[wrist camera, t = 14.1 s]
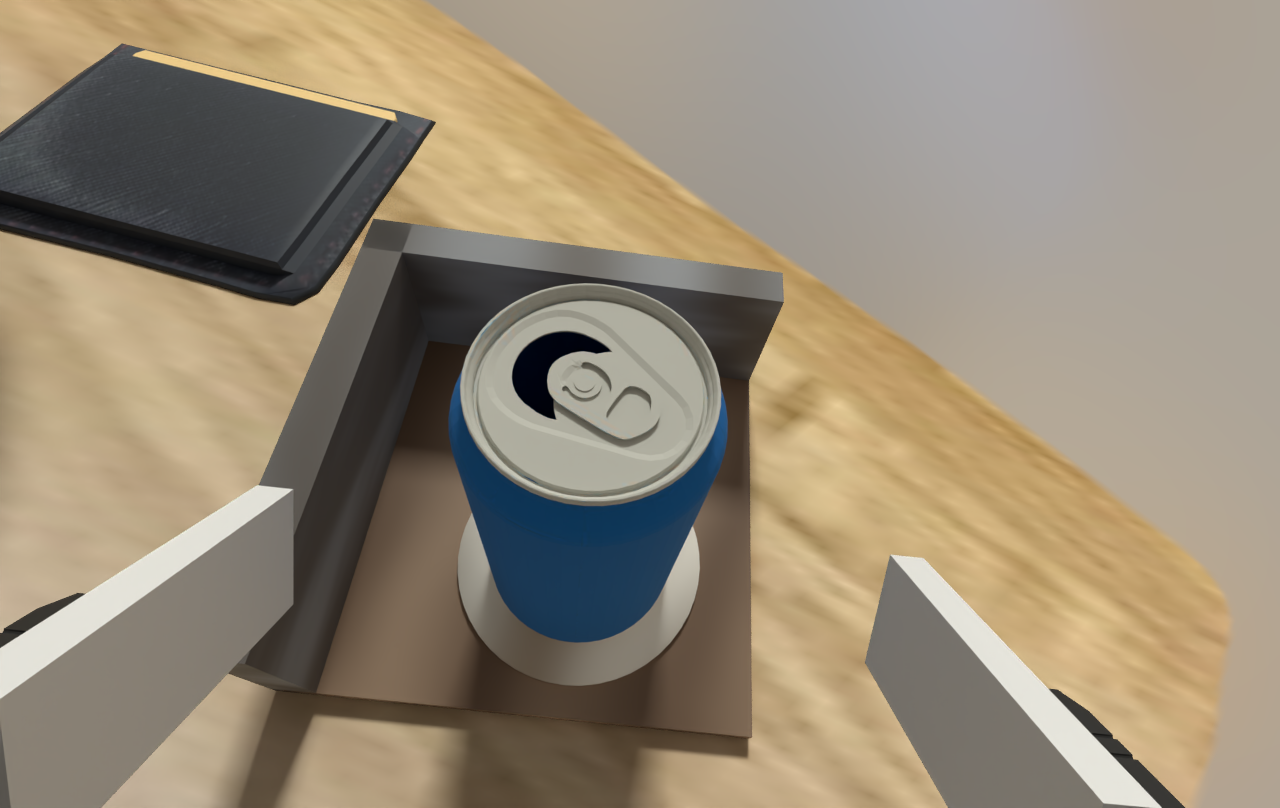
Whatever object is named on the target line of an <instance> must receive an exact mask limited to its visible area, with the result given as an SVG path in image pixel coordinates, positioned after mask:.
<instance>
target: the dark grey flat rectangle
mask: <svg viewBox="0 0 1280 808" xmlns="http://www.w3.org/2000/svg"><path fill="white" fill-rule="evenodd" d="M435 123H436V122H434V121H432V120H428V119H425V118H421V117H418V116H414V115H411V114H407V113H404V112H400V111H396V110H391V109H387V108H382V107H378V106H373V105H369V104H364V103H359V102H355V101H351V100H347V99H343V98H339V97H335V96H331V95H327V94H323V93H319V92H315V91H311V90H307V89H303V88H299V87H295V86H291V85H287V84H283V83H279V82H275V81H271V80H267V79H263V78H259V77H254V76H250V75H246V74H242V73H238V72H234V71H230V70H226V69H222V68H218V67H214V66H210V65H206V64H202V63H198V62H194V61H190V60H186V59H182V58H178V57H174V56H170V55H166V54H162V53H158V52H154V51H150V50H146V49H142V48H138V47H134V46H130V45H126V44H121V45H119V46H118V47H117V48H116V49H114V50H113V51H112V52H110V53H109V54H108V55H107V56H105V57H104V58H102V59H101V60H99V61H98V62H96V63H95V64H93V65H92V66H90V67H89V68H87V69H86V70H84V71H83V72H81V73H80V74H78V75H77V76H76V77H74V78H73V79H72V80H70V81H69V82H68V83H66V84H65V85H64V86H62V87H61V88H60V89H58V90H57V91H56V92H54V93H53V94H52V95H50V96H49V97H48V98H46V99H45V100H44V101H42V102H41V103H40V104H38V105H37V106H36V107H34V108H33V109H32V110H30V111H29V112H28V113H26V114H25V115H24V116H22V117H21V118H20V119H18V120H17V121H16V122H14V123H13V124H12V125H10V126H9V127H8V128H6V129H5V130H4V131H2V132H1V133H0V229H3V230H7V231H11V232H15V233H19V234H23V235H27V236H31V237H35V238H39V239H43V240H47V241H51V242H55V243H59V244H63V245H67V246H71V247H75V248H79V249H83V250H87V251H91V252H95V253H99V254H103V255H107V256H111V257H114V258H118V259H122V260H125V261H129V262H132V263H136V264H139V265H143V266H147V267H150V268H154V269H157V270H161V271H165V272H168V273H172V274H175V275H179V276H183V277H186V278H190V279H193V280H197V281H200V282H204V283H208V284H211V285H215V286H218V287H222V288H225V289H228V290H232V291H235V292H238V293H242V294H245V295H249V296H252V297H255V298H259V299H264V300H270V301H276V302H282V303H288V304H293V305H295V304H297V303H299V302H301V301H303V300H305V299H307V298H309V297H311V296H313V295H315V294H316V293H318V292H319V291H320V290H321V289H322V287H323V286H324V285H325V283H326V282H327V281H328V280H329V278H330V277H331V276H332V274H333V273H334V272H335V270H336V269H337V268H338V266H339V265H340V264H341V262H342V261H343V259H344V257H345V256H346V254H347V253H348V251H349V250H350V248H351V247H352V245H353V244H354V242H355V241H356V239H357V238H358V236H359V235H360V233H361V232H362V230H363V229H364V227H365V226H366V224H367V223H368V221H369V220H370V218H371V217H372V215H373V214H374V212H375V210H376V209H377V207H378V206H379V204H380V203H381V201H382V200H383V199H384V197H385V196H386V194H387V193H388V192H389V190H390V189H391V187H392V186H393V185H394V183H395V182H396V180H397V179H398V178H399V176H400V175H401V173H402V172H403V171H404V169H405V168H406V166H407V165H408V163H409V162H410V161H411V159H412V158H413V156H414V155H415V153H416V152H417V150H418V149H419V147H420V145H421V144H422V142H423V141H424V139H425V138H426V136H427V135H428V133H429V132H430V131H431V129H432V128H433V126H434V125H435Z"/></svg>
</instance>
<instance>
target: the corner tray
mask: <svg viewBox="0 0 1280 808" xmlns="http://www.w3.org/2000/svg"><path fill="white" fill-rule="evenodd" d="M583 283H588V284H604V285H611V286H617V287H621V288H626V289H630V290H633V291H636V292H639V293H641V294H644V295H647V296H649V297H651V298H653V299H655V300H657V301H659V302H661V303H662V304H664V305H666V306H667V307H669V308H671V309H672V310H673V311H675V312H676V313H677V314H679V315H680V316H681V317H683V318H684V319H685V320H686V321H687V322H688V323H689V324H690V325H691V326H692V327H693V328H694V329H695V331H696V332H697V333H698V334H699V335H700V337H701V338H702V339H703V341H704V342H705V344H706V346H707V347H708V349H709V351H710V352H711V355H712V357H713V359H714V362H715V364H716V367H717V371H718V374H719V378H720V386H721V390H722V393H723V397H724V400H725V404H726V411H727V419H728V433H727V443H726V449H725V454H724V457H723V460H722V463H721V466H720V469H719V471H718V473H717V476H716V478H715V480H714V482H713V484H712V486H711V488H710V490H709V492H708V495H707V497H706V499H705V501H704V503H703V505H702V507H701V509H700V511H699V513H698V516H697V518H696V520H695V522H694V524H693V526H692V528H691V530H690V532H689V535H688V537H687V539H686V541H685V543H684V545H683V547H682V549H681V551H680V554H679V556H678V558H677V560H676V562H675V564H674V566H673V568H672V570H671V572H670V575H669V577H668V579H667V581H666V583H665V585H664V587H663V589H662V591H661V593H660V595H659V597H658V599H657V600H656V602H655V603H654V605H653V606H652V608H651V609H650V610H649V611H648V612H647V613H646V614H645V615H644V617H643V618H641V619H640V620H639V621H638V622H637V623H635V624H634V625H633V626H631V627H630V628H628V629H626V630H625V631H623V632H621V633H619V634H617V635H615V636H612V637H609V638H606V639H603V640H599V641H593V642H581V643H574V642H565V641H560V640H556V639H552V638H549V637H546V636H544V635H542V634H539V633H537V632H536V631H534V630H532V629H531V628H529V627H527V626H526V625H525V624H524V623H522V622H521V621H520V620H519V619H518V618H517V617H516V616H515V615H514V614H513V613H512V612H511V611H510V610H509V608H508V607H507V606H506V604H505V603H504V601H503V600H502V598H501V596H500V594H499V592H498V590H497V587H496V584H495V581H494V578H493V575H492V572H491V569H490V566H489V563H488V560H487V557H486V554H485V551H484V548H483V545H482V542H481V539H480V536H479V532H478V529H477V526H476V523H475V520H474V517H473V514H472V511H471V508H470V505H469V502H468V499H467V496H466V493H465V490H464V487H463V484H462V481H461V478H460V475H459V472H458V469H457V465H456V462H455V459H454V456H453V453H452V449H451V444H450V439H449V422H448V418H449V410H450V403H451V398H452V395H453V391H454V388H455V384H456V382H457V380H458V378H459V376H460V374H461V371H462V369H463V366H464V362H465V359H466V356H467V354H468V352H469V349H470V347H471V345H472V343H473V342H474V340H475V339H476V337H477V336H478V334H479V333H480V331H481V330H482V329H483V328H484V327H485V326H486V324H487V323H488V322H489V321H490V320H491V319H492V318H494V317H495V316H496V315H497V314H498V313H499V312H500V311H502V310H503V309H505V308H506V307H508V306H509V305H511V304H512V303H514V302H516V301H518V300H519V299H521V298H523V297H525V296H528V295H530V294H533V293H535V292H538V291H541V290H544V289H548V288H552V287H556V286H562V285H568V284H583ZM783 303H784V295H783V274H782V273H779V272H772V271H764V270H757V269H749V268H741V267H734V266H726V265H719V264H711V263H704V262H696V261H689V260H681V259H673V258H666V257H658V256H651V255H643V254H636V253H628V252H621V251H613V250H605V249H598V248H590V247H583V246H575V245H568V244H560V243H552V242H545V241H537V240H530V239H522V238H515V237H507V236H500V235H492V234H484V233H477V232H469V231H462V230H454V229H447V228H439V227H432V226H424V225H416V224H409V223H401V222H394V221H386V220H379V219H373V221H372V223H371V226H370V228H369V230H368V233H367V235H366V237H365V240H364V242H363V244H362V247H361V249H360V251H359V254H358V256H357V258H356V261H355V263H354V265H353V268H352V270H351V272H350V275H349V277H348V279H347V282H346V284H345V286H344V289H343V291H342V293H341V296H340V298H339V300H338V302H337V305H336V307H335V309H334V312H333V314H332V316H331V319H330V321H329V323H328V326H327V328H326V330H325V333H324V335H323V337H322V340H321V342H320V344H319V347H318V349H317V351H316V354H315V356H314V358H313V361H312V363H311V365H310V368H309V370H308V372H307V375H306V377H305V379H304V382H303V384H302V386H301V388H300V391H299V393H298V395H297V398H296V400H295V402H294V405H293V407H292V409H291V412H290V414H289V416H288V419H287V421H286V423H285V426H284V428H283V430H282V433H281V435H280V437H279V440H278V442H277V444H276V447H275V449H274V451H273V454H272V456H271V458H270V461H269V463H268V465H267V468H266V470H265V472H264V475H263V477H262V479H261V481H260V484H259V486H268V487H277V488H286V489H293V605H292V606H291V607H290V608H289V609H288V610H287V612H286V613H285V614H284V615H283V616H282V617H281V618H280V619H279V620H278V621H277V622H276V623H275V624H274V625H273V626H272V627H271V628H270V629H269V631H268V632H267V633H266V634H265V635H264V636H263V637H262V638H261V639H260V640H259V641H258V642H257V643H256V644H255V645H254V646H253V647H252V649H251V650H250V651H249V652H248V653H247V654H246V655H245V656H244V657H243V658H242V659H241V660H240V661H239V662H238V663H237V664H236V665H235V667H234V668H233V669H232V670H231V671H230V672H229V673H228V674H231V675H234V676H237V677H239V678H242V679H245V680H248V681H251V682H253V683H256V684H259V685H262V686H264V687H267V688H270V689H273V690H276V691H286V692H296V693H305V694H315V695H325V696H335V697H345V698H355V699H365V700H375V701H384V702H394V703H404V704H414V705H424V706H434V707H444V708H454V709H463V710H473V711H483V712H493V713H503V714H513V715H523V716H533V717H542V718H552V719H562V720H572V721H582V722H592V723H602V724H611V725H621V726H631V727H641V728H651V729H661V730H671V731H681V732H690V733H700V734H710V735H720V736H730V737H740V738H751V737H752V684H751V569H750V455H749V379H750V377H751V375H752V372H753V370H754V368H755V366H756V363H757V361H758V359H759V357H760V354H761V352H762V350H763V348H764V345H765V343H766V341H767V339H768V336H769V334H770V332H771V330H772V327H773V325H774V323H775V321H776V318H777V316H778V314H779V312H780V309H781V307H782V305H783Z"/></svg>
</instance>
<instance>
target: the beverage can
mask: <svg viewBox="0 0 1280 808" xmlns="http://www.w3.org/2000/svg"><path fill="white" fill-rule="evenodd" d="M448 422H449V439H450V444H451V449H452V453H453V456H454V459H455V462H456V465H457V469H458V472H459V475H460V478H461V481H462V484H463V487H464V490H465V493H466V496H467V499H468V502H469V505H470V508H471V511H472V514H473V517H474V520H475V523H476V526H477V529H478V532H479V536H480V539H481V542H482V545H483V548H484V551H485V554H486V557H487V560H488V563H489V566H490V569H491V572H492V575H493V578H494V581H495V584H496V587H497V590H498V592H499V594H500V596H501V598H502V600H503V601H504V603H505V604H506V606H507V607H508V608H509V610H510V611H511V612H512V613H513V614H514V615H515V616H516V617H517V618H518V619H519V620H520V621H521V622H522V623H524V624H525V625H526V626H527V627H529V628H531V629H532V630H534V631H536V632H537V633H539V634H542V635H544V636H546V637H549V638H552V639H556V640H560V641H565V642H574V643H581V642H593V641H599V640H603V639H606V638H609V637H612V636H615V635H617V634H619V633H621V632H623V631H625V630H626V629H628V628H630V627H631V626H633V625H634V624H635V623H637V622H638V621H639V620H640V619H641V618H643V617H644V615H645V614H646V613H647V612H648V611H649V610H650V609H651V608H652V606H653V605H654V603H655V602H656V600H657V599H658V597H659V595H660V593H661V591H662V589H663V587H664V585H665V583H666V581H667V579H668V577H669V575H670V572H671V570H672V568H673V566H674V564H675V562H676V560H677V558H678V556H679V554H680V551H681V549H682V547H683V545H684V543H685V541H686V539H687V537H688V535H689V532H690V530H691V528H692V526H693V524H694V522H695V520H696V518H697V516H698V513H699V511H700V509H701V507H702V505H703V503H704V501H705V499H706V497H707V495H708V492H709V490H710V488H711V486H712V484H713V482H714V480H715V478H716V476H717V473H718V471H719V469H720V466H721V463H722V460H723V457H724V454H725V449H726V443H727V433H728V419H727V411H726V404H725V400H724V397H723V393H722V390H721V386H720V378H719V374H718V371H717V367H716V364H715V362H714V359H713V357H712V355H711V352H710V351H709V349H708V347H707V346H706V344H705V342H704V341H703V339H702V338H701V337H700V335H699V334H698V333H697V332H696V331H695V329H694V328H693V327H692V326H691V325H690V324H689V323H688V322H687V321H686V320H685V319H684V318H683V317H681V316H680V315H679V314H677V313H676V312H675V311H673V310H672V309H671V308H669V307H667V306H666V305H664V304H662V303H661V302H659V301H657V300H655V299H653V298H651V297H649V296H647V295H644V294H641V293H639V292H636V291H633V290H630V289H626V288H621V287H617V286H611V285H604V284H588V283H583V284H568V285H562V286H556V287H552V288H548V289H544V290H541V291H538V292H535V293H533V294H530V295H528V296H525V297H523V298H521V299H519V300H518V301H516V302H514V303H512V304H511V305H509V306H508V307H506V308H505V309H503V310H502V311H500V312H499V313H498V314H497V315H496V316H495V317H494V318H492V319H491V320H490V321H489V322H488V323H487V324H486V326H485V327H484V328H483V329H482V330H481V331H480V333H479V334H478V336H477V337H476V339H475V340H474V342H473V343H472V345H471V347H470V349H469V352H468V354H467V356H466V359H465V362H464V366H463V369H462V371H461V374H460V376H459V378H458V380H457V382H456V384H455V388H454V391H453V395H452V398H451V403H450V410H449V418H448Z"/></svg>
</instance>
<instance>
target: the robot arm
mask: <svg viewBox="0 0 1280 808" xmlns="http://www.w3.org/2000/svg"><path fill="white" fill-rule="evenodd" d="M292 605H293V489H286V488H277V487H268V486H259V485H257V486H255V487H254V488H252V489H250V490H249V491H247V492H246V493H244V494H243V495H241V496H239V497H238V498H236V499H235V500H233V501H231V502H230V503H228V504H227V505H225V506H224V507H222V508H220V509H219V510H217V511H216V512H214V513H213V514H211V515H209V516H208V517H206V518H205V519H203V520H202V521H200V522H198V523H197V524H195V525H194V526H192V527H190V528H189V529H187V530H186V531H184V532H183V533H181V534H179V535H178V536H176V537H175V538H173V539H172V540H170V541H168V542H167V543H165V544H164V545H162V546H160V547H159V548H157V549H156V550H154V551H153V552H151V553H149V554H148V555H146V556H145V557H143V558H142V559H140V560H138V561H137V562H135V563H134V564H132V565H131V566H129V567H127V568H126V569H124V570H123V571H121V572H119V573H118V574H116V575H115V576H113V577H112V578H110V579H108V580H107V581H105V582H104V583H102V584H101V585H99V586H97V587H96V588H94V589H93V590H91V591H90V592H88V593H86V594H83V593H77V594H74V595H71V596H69V597H66V598H64V599H61V600H58V601H56V602H53V603H51V604H48V605H45V606H43V607H40V608H38V609H36V610H34V611H32V612H31V613H29V614H27V615H26V616H24V617H23V618H21V619H19V620H18V621H16V622H14V623H13V624H11V625H9V626H8V627H6V628H4V631H3V633H0V808H101V807H102V806H103V805H104V804H105V803H106V802H107V801H108V800H109V799H110V798H111V797H112V796H113V794H114V793H115V792H116V791H117V790H118V789H119V788H120V787H121V786H122V785H123V784H124V783H125V782H126V781H127V780H128V779H129V778H130V776H131V775H132V774H133V773H134V772H135V771H136V770H137V769H138V768H139V767H140V766H141V765H142V764H143V763H144V762H145V761H146V760H147V758H148V757H149V756H150V755H151V754H152V753H153V752H154V751H155V750H156V749H157V748H158V747H159V746H160V745H161V744H162V743H163V742H164V741H165V739H166V738H167V737H168V736H169V735H170V734H171V733H172V732H173V731H174V730H175V729H176V728H177V727H178V726H179V725H180V724H181V723H182V721H183V720H184V719H185V718H186V717H187V716H188V715H189V714H190V713H191V712H192V711H193V710H194V709H195V708H196V707H197V706H198V705H199V704H200V702H201V701H202V700H203V699H204V698H205V697H206V696H207V695H208V694H209V693H210V692H211V691H212V690H213V689H214V688H215V687H216V686H217V684H218V683H219V682H220V681H221V680H222V679H223V678H224V677H225V676H226V675H227V674H228V673H229V672H230V671H231V670H232V669H233V668H234V667H235V665H236V664H237V663H238V662H239V661H240V660H241V659H242V658H243V657H244V656H245V655H246V654H247V653H248V652H249V651H250V650H251V649H252V647H253V646H254V645H255V644H256V643H257V642H258V641H259V640H260V639H261V638H262V637H263V636H264V635H265V634H266V633H267V632H268V631H269V629H270V628H271V627H272V626H273V625H274V624H275V623H276V622H277V621H278V620H279V619H280V618H281V617H282V616H283V615H284V614H285V613H286V612H287V610H288V609H289V608H290V607H291V606H292ZM865 663H866V665H867V667H868V669H869V670H870V672H871V674H872V676H873V677H874V679H875V681H876V682H877V684H878V686H879V688H880V689H881V691H882V693H883V695H884V696H885V698H886V700H887V702H888V703H889V705H890V707H891V709H892V710H893V712H894V714H895V716H896V717H897V719H898V721H899V723H900V724H901V726H902V728H903V730H904V731H905V733H906V735H907V737H908V738H909V740H910V742H911V744H912V745H913V747H914V749H915V751H916V752H917V754H918V756H919V758H920V759H921V761H922V763H923V765H924V766H925V768H926V770H927V772H928V773H929V775H930V777H931V779H932V780H933V782H934V784H935V786H936V787H937V789H938V791H939V792H940V794H941V796H942V798H943V799H944V801H945V803H946V805H947V806H948V808H1185V807H1184V806H1183V805H1182V804H1181V803H1180V802H1179V801H1178V800H1177V799H1176V798H1175V797H1174V796H1173V795H1172V794H1171V793H1170V792H1169V791H1168V790H1167V789H1166V788H1165V787H1164V786H1163V785H1162V784H1161V783H1160V782H1159V781H1158V780H1157V779H1156V778H1155V777H1154V776H1153V775H1152V774H1151V773H1150V772H1149V771H1148V770H1147V769H1146V768H1145V767H1144V766H1143V765H1142V764H1141V763H1140V762H1139V761H1138V760H1134V759H1133V757H1132V754H1131V753H1130V752H1129V751H1128V750H1127V749H1126V748H1125V747H1124V746H1123V745H1122V744H1121V743H1120V742H1119V741H1118V740H1116V739H1113V737H1112V736H1113V735H1112V734H1111V733H1110V732H1109V731H1108V730H1107V729H1106V728H1105V727H1104V726H1103V725H1102V724H1101V723H1100V722H1099V721H1098V720H1097V719H1096V718H1095V717H1094V716H1093V715H1092V714H1091V713H1090V712H1089V711H1088V710H1086V709H1085V708H1084V707H1082V706H1081V705H1079V704H1078V703H1076V702H1075V701H1073V700H1072V699H1070V698H1069V697H1067V696H1066V695H1064V694H1063V693H1062V692H1060V691H1059V690H1056V689H1048V688H1047V687H1046V686H1045V685H1044V684H1043V683H1042V682H1041V681H1040V680H1039V679H1038V678H1037V677H1036V675H1035V674H1034V673H1033V672H1032V671H1031V670H1030V669H1029V668H1028V667H1027V666H1026V665H1025V664H1024V663H1023V662H1022V661H1021V660H1020V659H1019V658H1018V657H1017V656H1016V655H1015V654H1014V652H1013V651H1012V650H1011V649H1010V648H1009V647H1008V646H1007V645H1006V644H1005V643H1004V642H1003V641H1002V640H1001V639H1000V638H999V637H998V636H997V635H996V634H995V633H994V632H993V630H992V629H991V628H990V627H989V626H988V625H987V624H986V623H985V622H984V621H983V620H982V619H981V618H980V617H979V616H978V615H977V614H976V613H975V612H974V611H973V610H972V609H971V607H970V606H969V605H968V604H967V603H966V602H965V601H964V600H963V599H962V598H961V597H960V596H959V595H958V594H957V593H956V592H955V591H954V590H953V589H952V588H951V587H950V585H949V584H948V583H947V582H946V581H945V580H944V579H943V578H942V577H941V576H940V575H939V574H938V573H937V572H936V571H935V570H934V569H933V568H932V567H931V566H930V565H929V564H928V562H927V561H926V560H925V559H924V558H916V557H907V556H898V555H890V558H889V562H888V566H887V571H886V575H885V579H884V583H883V588H882V592H881V596H880V600H879V605H878V609H877V613H876V617H875V622H874V626H873V630H872V634H871V639H870V643H869V647H868V651H867V656H866V660H865Z"/></svg>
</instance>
